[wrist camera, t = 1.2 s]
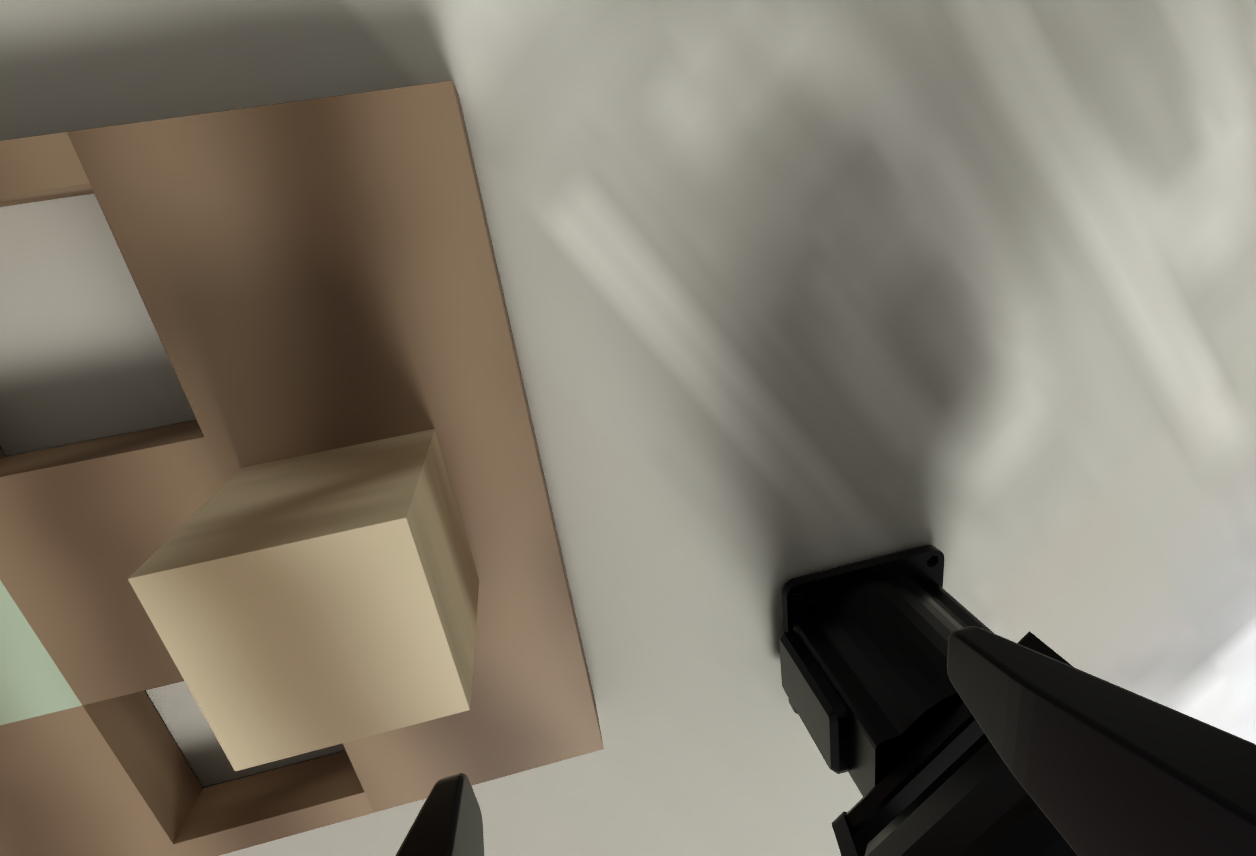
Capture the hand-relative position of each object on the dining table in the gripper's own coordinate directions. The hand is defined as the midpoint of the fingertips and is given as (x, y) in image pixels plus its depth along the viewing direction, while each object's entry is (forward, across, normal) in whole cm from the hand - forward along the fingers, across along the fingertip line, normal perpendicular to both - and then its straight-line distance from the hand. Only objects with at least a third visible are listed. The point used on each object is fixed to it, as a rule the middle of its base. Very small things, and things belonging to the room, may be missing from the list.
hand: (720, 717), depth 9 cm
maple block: (+9, +7, 0) cm, 12 cm away
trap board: (+11, +12, 0) cm, 16 cm away
